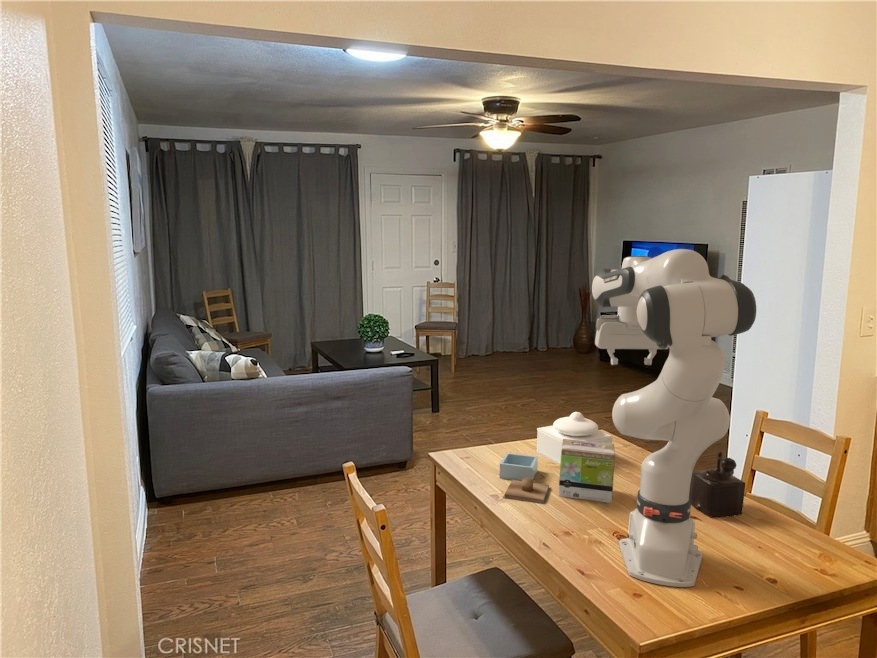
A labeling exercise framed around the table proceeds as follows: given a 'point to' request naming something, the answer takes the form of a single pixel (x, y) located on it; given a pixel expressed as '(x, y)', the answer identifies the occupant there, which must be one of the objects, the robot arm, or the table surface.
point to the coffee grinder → (717, 490)
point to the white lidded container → (568, 435)
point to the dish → (518, 466)
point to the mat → (530, 501)
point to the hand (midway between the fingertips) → (631, 364)
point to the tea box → (587, 470)
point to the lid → (527, 490)
